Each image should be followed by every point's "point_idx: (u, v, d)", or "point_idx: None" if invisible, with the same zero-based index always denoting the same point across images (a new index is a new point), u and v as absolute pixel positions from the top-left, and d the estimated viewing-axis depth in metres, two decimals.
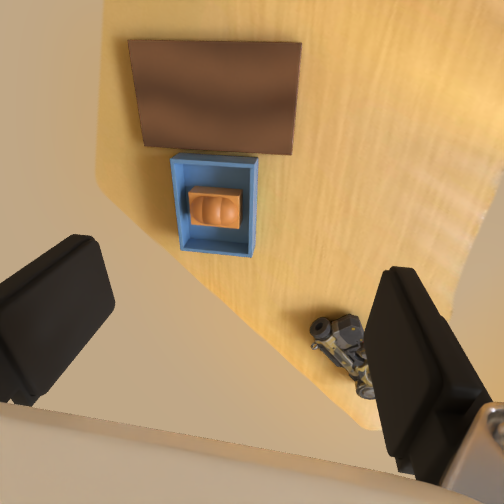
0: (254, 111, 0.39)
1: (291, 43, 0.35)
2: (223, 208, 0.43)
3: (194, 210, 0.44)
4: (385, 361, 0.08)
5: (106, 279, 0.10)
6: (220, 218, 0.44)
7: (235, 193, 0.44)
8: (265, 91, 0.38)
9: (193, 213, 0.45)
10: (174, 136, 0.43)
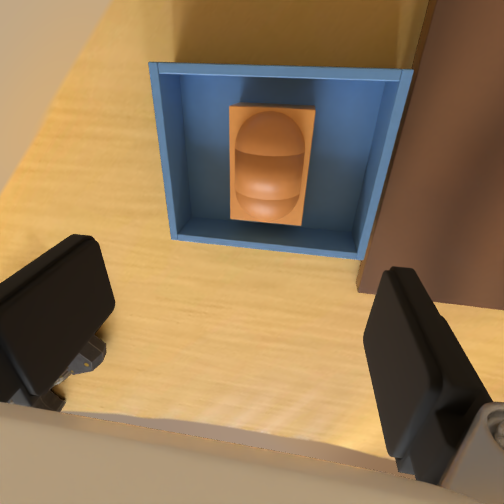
0: (442, 247, 0.23)
1: None
2: (281, 204, 0.20)
3: (275, 133, 0.18)
4: (385, 361, 0.08)
5: (106, 279, 0.10)
6: (259, 200, 0.19)
7: None
8: (469, 264, 0.23)
9: (265, 127, 0.18)
10: (446, 72, 0.18)
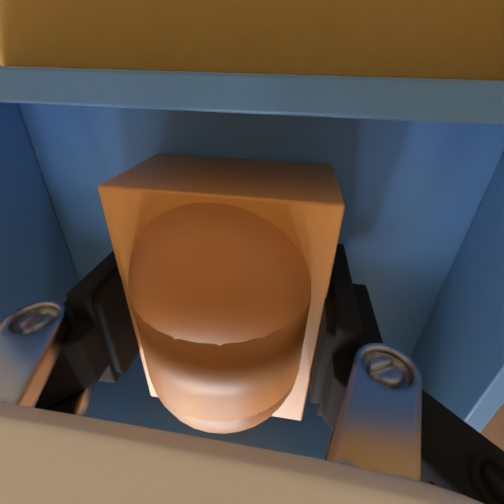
0: None
1: None
2: (251, 420, 0.08)
3: (220, 283, 0.06)
4: None
5: None
6: (193, 418, 0.08)
7: None
8: None
9: (192, 265, 0.06)
10: None
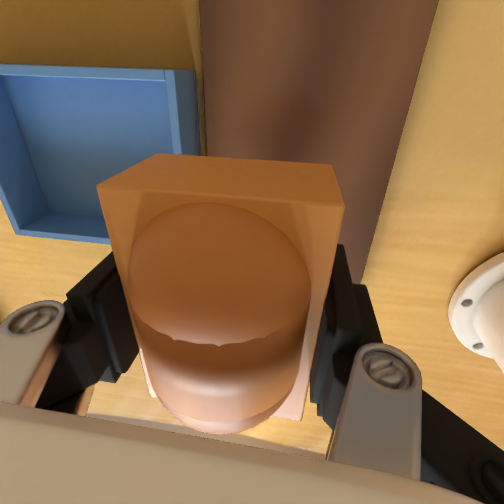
0: None
1: None
2: (251, 421, 0.08)
3: (219, 284, 0.06)
4: None
5: None
6: (193, 419, 0.07)
7: None
8: None
9: (191, 265, 0.06)
10: (227, 72, 0.18)
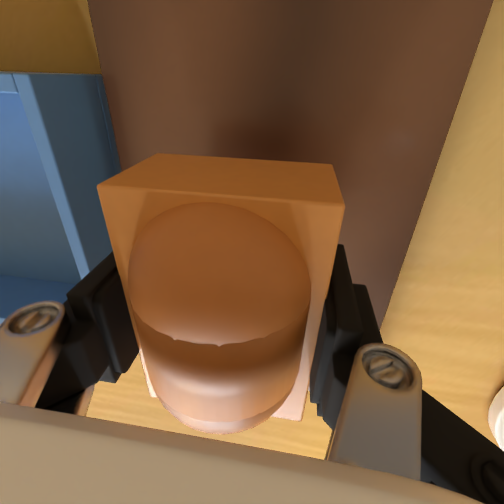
0: None
1: None
2: (251, 421, 0.08)
3: (220, 284, 0.06)
4: None
5: None
6: (193, 419, 0.07)
7: None
8: None
9: (192, 265, 0.06)
10: (141, 77, 0.11)
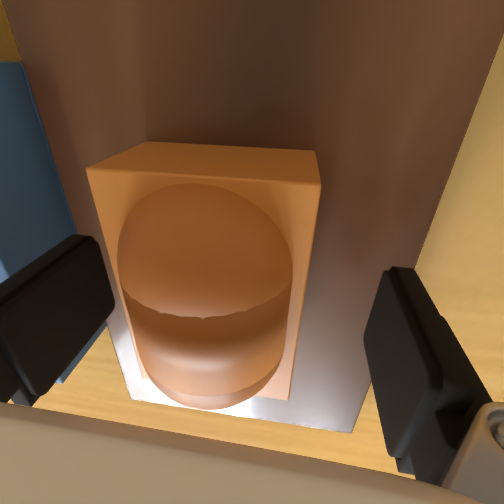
0: None
1: (354, 421, 0.16)
2: (237, 396, 0.08)
3: (202, 258, 0.06)
4: (385, 361, 0.08)
5: (106, 279, 0.10)
6: (181, 393, 0.08)
7: None
8: None
9: (176, 241, 0.06)
10: (72, 64, 0.09)
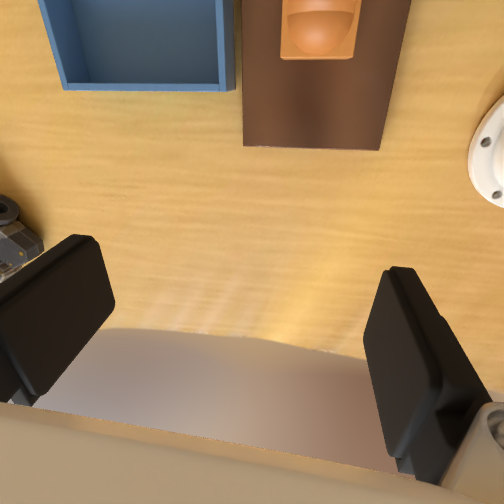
0: (302, 84, 0.26)
1: (380, 136, 0.27)
2: (337, 19, 0.20)
3: None
4: (385, 361, 0.08)
5: (106, 279, 0.10)
6: (316, 12, 0.19)
7: None
8: (328, 101, 0.26)
9: None
10: None
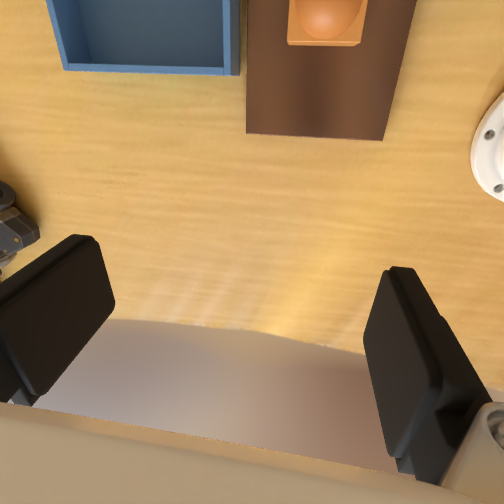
0: (307, 71, 0.26)
1: (385, 126, 0.27)
2: (346, 2, 0.19)
3: None
4: (385, 361, 0.08)
5: (106, 279, 0.10)
6: None
7: None
8: (333, 89, 0.26)
9: None
10: None
